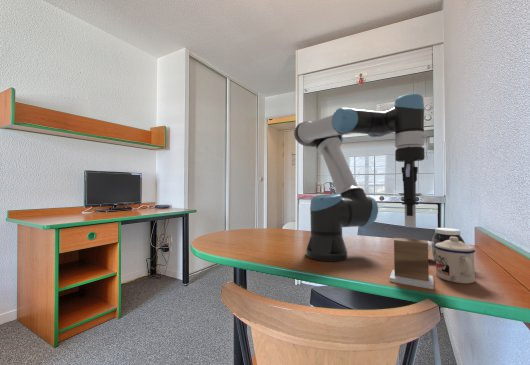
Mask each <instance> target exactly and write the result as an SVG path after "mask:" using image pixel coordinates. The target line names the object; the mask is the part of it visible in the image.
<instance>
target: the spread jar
mask: <svg viewBox="0 0 530 365" xmlns="http://www.w3.org/2000/svg"><path fill="white" fill-rule="evenodd" d="M434 228H435V233H434V235H433V236H432V239H431V241H429V240H427V241H428V253H429V252H430V250H431V252H432V258H433V260H434V262H435V263H436V248H435V244H436V243H440V242H443V241H446V240H450V239H449V238H450V237H457V238H458V241H461V242H463V243H465V244H466V242H465V240H464V239H463V237H462V236H461V229H458V228H454V227H453V228H452V227H434Z"/></svg>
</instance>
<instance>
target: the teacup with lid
mask: <svg viewBox="0 0 530 365" xmlns="http://www.w3.org/2000/svg"><path fill="white" fill-rule="evenodd" d="M449 239H450V240H446V241H443V242H440V243H436V244H435V248H436V262H435V274H436V276H437V277H438V278H439V279H441V280H444V281H446V282H452V283H455V284H457V283H458V284H465V285H466V284H468V285H469V284H473V283H474V282H475V281H476V280H475V278H476V277H475V275H476V274H475V271H476V270H475V252H476V250H475V248H474V247H473V246H471V245H468V244H466V242H465V243H463V242H461V241H458V238H457V237H450V238H449Z"/></svg>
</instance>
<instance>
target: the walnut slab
mask: <svg viewBox="0 0 530 365" xmlns="http://www.w3.org/2000/svg"><path fill="white" fill-rule="evenodd" d="M428 241H429V240H424V239H413V238H404V237H403V238H402V237H394V239H393V251H394V253H393V257H394V259H393V260H394V261H393V262H394V264H393V265H394V267H393V268H394V270H395V276H399V277H405V278H411V279H417V280H423V281H429V275H430V274H429V272H430V270H429V269H430V268H429V252H428Z"/></svg>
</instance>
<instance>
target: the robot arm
mask: <svg viewBox="0 0 530 365" xmlns="http://www.w3.org/2000/svg"><path fill="white" fill-rule="evenodd" d="M424 102H425V101H424V97H423V96H422V94H418V93H408V94H404V95H400V96H397V97H396V99H395V100H394V104H393V106H394V107H393V108H391V109H389V110H385V111H377V110H375V111H374V110H370V109H369V110H368V109H367V110H366V109H360V108H359V109H358V108H352V107H340V108H337V109H336V110H335V111H334V113H333V114H332V115H328V116H326V117H321V118H319V119H317V120H312V121H311V120H305V121H303V122H299V123H298V124H297V125H296V126H295V129H294V133H293V135H294V139H295V141H296V142H297V143H298V144H300V145H302V146H304V147H311V148H316V151H317V152H318V154H320V155H322V157H323V159H324V162H325V164H326V166H327V170H328V173H329V175H330V177H331V181H332V182H333V185H334V188H335V191H336V193H329V194H327V193H326V194H321V195H315V196H313V197H311V200H310V207H309V210H310V236H309V239H308V243H307V245H306V249H305V250H306V251H305V252H306V253H305V255H306V257H307V256H308V257H307V258H308V259H309V258H310V259H312V260H315V261H321V262H341V261H345V260H347V259H348V249H347V247H346V242H345V241H344V238H343V228H351V227H355V228H356V227H360V228H361V227H367V226H370V225H372V224H374V223H375V222H376V220H377V218H378V214H379V205H378V202H377V201H376V199H375V198H374V197H372V196H370V195H368V196H367V195H366V193H365V190H364V189H363V188H362V187H360V186H358V184H357V182H356V180H355V178H354V175H353V173H352V171H351V168H350V166H349V163H348V162H347V159H346V157H345V155H344V152H343V151H342V149H341V147H342V143H343V140H344V135H347V134H364V135H368V136H370V137H371V138H377V137H378V138H380V137H383V136H386V135H390V134H394V146H395V148H396V149H395V152H394V153H395V154H394V156H395V161H396V162H399V163H403V166H402V167H401V173H402V182H403V183H402V184H403V185H402V186H403V202H401V205H403V206H404V227H406V228H416V227H417V225H416V224H417V221H416V220H417V219H416V218H417V217H416V215H417V213H416V211H417V209H416V208H417V207H416V205H419V202H417V198H416V196H417V194H416V192H417V190H416V187H417V186H416V184H417V181H418V172H419V167H418V166H415V165H416V163H415V162H421V161H424V160H425V154H426V153H425V148H424V145H425V139H427V135H426V134H425V110H426V109H425V108H426V107H425V103H424Z"/></svg>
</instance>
